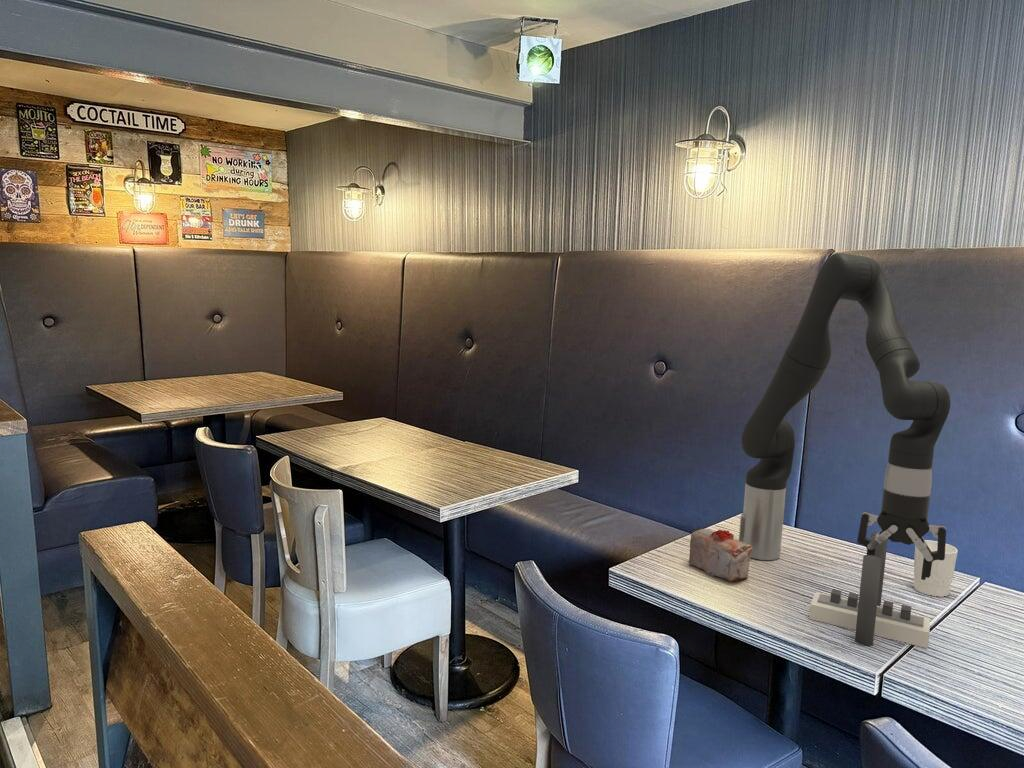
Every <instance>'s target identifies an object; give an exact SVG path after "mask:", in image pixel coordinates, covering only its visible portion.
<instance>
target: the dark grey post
mask: <svg viewBox="0 0 1024 768" xmlns="http://www.w3.org/2000/svg"><path fill="white" fill-rule="evenodd" d="M881 564H882V559H881V558H880V557H877V556H874V555H867V554H864V555H863V558H862V565H861V566H862V568H861V577H860V586H859V593H858V602H859V603H858V613H857V623H856V630H855V634H854V642H856V643H857V644H859V645H862V646H866V647H870V646H873V645H874V640H875V639H874V637H875V635H874V630H875V620H876V611H877V601H878V592H879V583H880V573H881Z"/></svg>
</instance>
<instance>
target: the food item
mask: <svg viewBox="0 0 1024 768" xmlns="http://www.w3.org/2000/svg"><path fill="white" fill-rule="evenodd" d="M689 542H690V543H689V555H688V556H689V557H688V558H689V559H688V564H689V566H692V567H696V568H698V569H700V570H702V571H704V572H705V573H706V575H708V576H712V577H715V576H717V577H718V578H721V579H723V580H727V581H729V582H735V581H739V580H740V581H741V580H744V579H747V578H749V569H750V568H749V567H750V562H751V557H750V556H751V552H752V545H749V544H746V543H743V542H740V541H739V539H738V540H737V539H734V534H733V533H732V532H730V531H729V530H725V529H718V530H716V531H714V530H712V529H710V528H709V529H708V528H700V529H697V530H695V531H693V532H691V534H690V541H689Z"/></svg>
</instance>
